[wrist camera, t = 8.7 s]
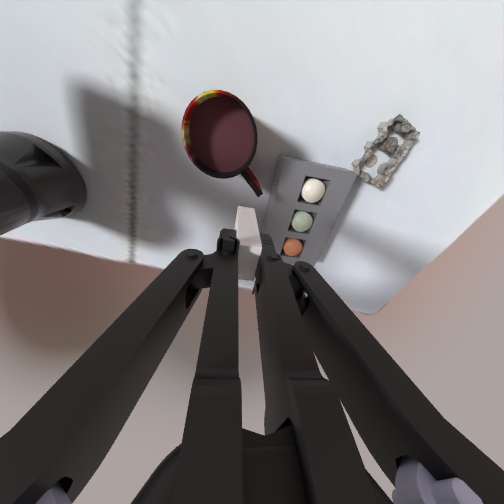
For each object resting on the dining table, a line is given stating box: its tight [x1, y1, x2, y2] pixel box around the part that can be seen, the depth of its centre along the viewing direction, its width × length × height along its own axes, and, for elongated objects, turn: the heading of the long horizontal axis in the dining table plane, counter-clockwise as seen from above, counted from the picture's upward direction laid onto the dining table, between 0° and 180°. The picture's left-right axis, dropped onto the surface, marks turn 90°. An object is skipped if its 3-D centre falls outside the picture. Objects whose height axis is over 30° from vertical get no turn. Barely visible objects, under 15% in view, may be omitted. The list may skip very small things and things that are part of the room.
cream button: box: [300, 177, 325, 203], centre depth 36 cm, size 4×4×3 cm
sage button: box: [291, 209, 313, 232], centre depth 40 cm, size 4×4×3 cm
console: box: [261, 155, 358, 266], centre depth 41 cm, size 14×22×5 cm, turn 170°
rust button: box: [283, 237, 302, 256], centre depth 43 cm, size 4×4×3 cm
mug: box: [182, 90, 263, 197], centre depth 29 cm, size 10×14×12 cm
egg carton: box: [352, 114, 420, 187], centre depth 35 cm, size 11×8×4 cm
